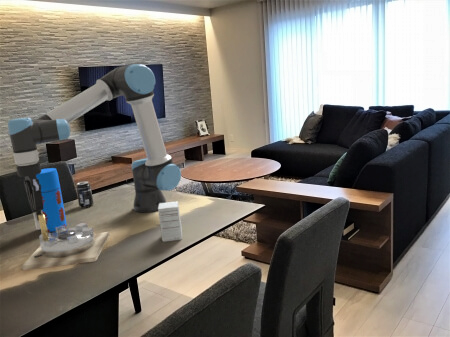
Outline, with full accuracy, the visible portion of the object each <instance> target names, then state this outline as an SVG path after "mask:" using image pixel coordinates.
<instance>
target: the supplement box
mask: <svg viewBox="0 0 450 337" xmlns="http://www.w3.org/2000/svg"><path fill="white" fill-rule="evenodd" d="M157 211H158V212H157V213H158V218H159V226H160V234H161V241H162V242H170V241H171V242H172V241H179V240H183V229H182V222H181V212H180V206H179V201H177V200H176V201H168V202H167V201H166V203H159V207H158V210H157Z"/></svg>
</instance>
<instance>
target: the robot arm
mask: <svg viewBox="0 0 450 337" xmlns="http://www.w3.org/2000/svg"><path fill="white" fill-rule="evenodd" d="M155 85H156V78H155V74H154V72H153V70H152V69H151V68H149V67H148V66H146V65H144V64H140V63H139V64H138V63H137V64H136V63H133V64H129V65H124V66H118V67H116V68H114V69H113V70H110V71H109V72H107V74H105V75H103V76H102V77H100V78H99V79H96V81H95V84H94V85H91V86H90V87H88V88H87V89H85V90H83V91H82V92H81V93H78V94H77V95H75V96H73V97H71V98H69V99H68V100H66V101H64V102H63V103H62V104H60V105H58V106H56V107H55V108H53V109H51V110H50V111H48V112H46V113H45V114H43V115H41V116H39V117H38V118H35V119H32V118H31V117H23V118H22V117H21V118H12V119H9V121H8V122H7V129H8V136H9V138H10V144H11V148H12V151H13V152H12V153H13V159H14V164H15V165H16V167H15V168H16V172H17V176H18V177H20V178H23V177H24V180H23V185H24V187H25V192H26V195H27V200H28V203H29V208H30V209H31V213H32V214H33V219H34V223H35V229H36V230H37V231H38V230H41V228H40V223H39V218H38V215H39V214H43V213H42V210H43V202H42V194H41V185H40V184H39V180H38V179H37V177H36V175H37V174H39V173H41V169H42V168H41V167H42V166H41V162H39V161H40V157H39V155H40V151H38V146H37V145H39V144H40V145H41V144H46V143H51V142H57V141H60V142H61V141H62V140H67V139H69V138H70V136H71V129H70V123H72V122H73V121H75V120H77V119H78V118H80V117H82V116H83V115H85V114H86V113H88V112H89V111H91V110H93V109H94V108H96V107H97V106H99V105H101V104H102V103H104V102H105V101H111V100H114V99H115V98H117V97H121V96H124V99H125V102H126V103H127V104H129V105H130V106H131V109H132V112H133V116H134V119H135V123H136V126H137V129H138V133H139V137H140V139H141V143H142V146H143V150H144V152H145V155H146V158H142V159H137V160H134V161H132V163H131V171H132V179H133V184H134V190H135V191H134V192H135V195H134V198H133V199H134V201H133V211H135V212H137V213H151V212H152V213H153V212H157V211H158V207H159V203H167V199H166V197H165V194H163V192H165V191H166V192H167V191H172V190H174V189H176V188H177V186H178V185H179V183H180V181H181V178H182V172H181V169H180V167H179V166H177V164H175V163H174V161H173V157H172V156H171V155H170V154H168V153H167V149H166V146H165V142H164V138H163V135H162V132H161V131H162V130H161V128H160V124H159V121H158V117H157V114H156V111H155V107H154V103H153V98H154V96H155V93H154V89H155Z"/></svg>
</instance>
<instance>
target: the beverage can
mask: <svg viewBox="0 0 450 337" xmlns="http://www.w3.org/2000/svg"><path fill="white" fill-rule="evenodd" d="M75 190H76V196H77V200H78V205H79V207H80V208H84V209H85V208H90V207H92V206H93V204H94V200H93V199H94V198H93V194H92V193H93V192H92V186H91V183H89V181H88V180H87V181H80V182H77V183H76V186H75Z"/></svg>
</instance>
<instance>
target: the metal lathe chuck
mask: <svg viewBox="0 0 450 337" xmlns="http://www.w3.org/2000/svg"><path fill="white" fill-rule="evenodd" d="M38 218H39V223H40V228H41V229H40V232H41V234H40V235H39V236H38V238H39V239H38V240H39V246H40V245H41V250H42V254H43V255H44V256H46V257H64V256H70V255H74V254H77V253H80V252H82V251H85V250H87V249H89V248H90V247H91V246H93V245H94V243H95V240H94V228H93V227H88V223H85V222H80V223H78V224H76V225H74V226H75V227H69V228H67V226H66V227H65V226H64V225H62V226H59V227H55V228H56V231H53V232H52V233H51V232H48V231H47V226H46V220H45V215H44V214H39V215H38Z"/></svg>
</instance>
